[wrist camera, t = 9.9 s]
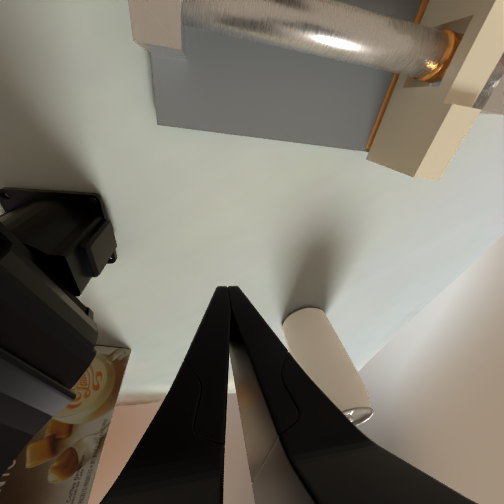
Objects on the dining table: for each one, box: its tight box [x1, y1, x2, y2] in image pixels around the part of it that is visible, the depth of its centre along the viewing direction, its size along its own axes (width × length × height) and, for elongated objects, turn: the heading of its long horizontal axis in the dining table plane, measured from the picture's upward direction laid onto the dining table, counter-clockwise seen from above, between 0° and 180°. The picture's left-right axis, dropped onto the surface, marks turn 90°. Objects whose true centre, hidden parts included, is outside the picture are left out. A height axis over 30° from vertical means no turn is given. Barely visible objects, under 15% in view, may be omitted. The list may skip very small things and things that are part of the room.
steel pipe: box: [128, 0, 504, 115], centre depth 12 cm, size 22×4×4 cm, turn 82°
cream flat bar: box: [366, 0, 504, 180], centre depth 12 cm, size 2×12×5 cm, turn 172°
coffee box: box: [0, 345, 131, 504], centre depth 22 cm, size 9×6×16 cm
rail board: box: [151, 0, 464, 152], centre depth 14 cm, size 22×11×1 cm, turn 82°
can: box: [282, 307, 374, 426], centre depth 26 cm, size 6×6×12 cm
